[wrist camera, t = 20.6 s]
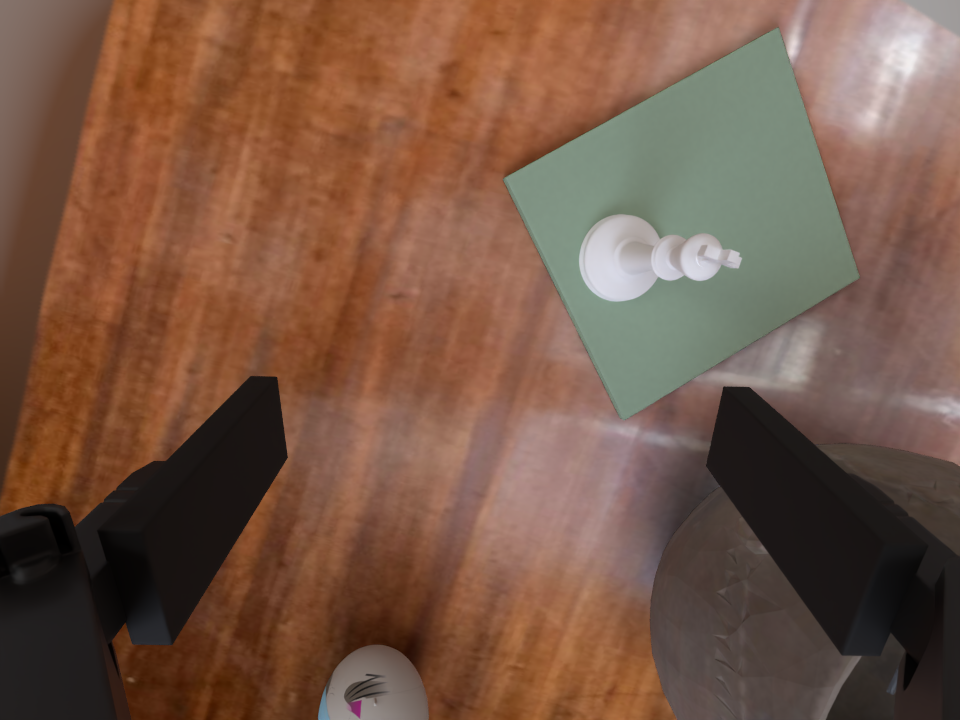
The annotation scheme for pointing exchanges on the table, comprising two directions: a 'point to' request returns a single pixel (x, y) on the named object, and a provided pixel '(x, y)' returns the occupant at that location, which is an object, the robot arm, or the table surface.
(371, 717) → the figurine
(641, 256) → the chess piece
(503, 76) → the table surface
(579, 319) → the mat
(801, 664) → the clay pot
